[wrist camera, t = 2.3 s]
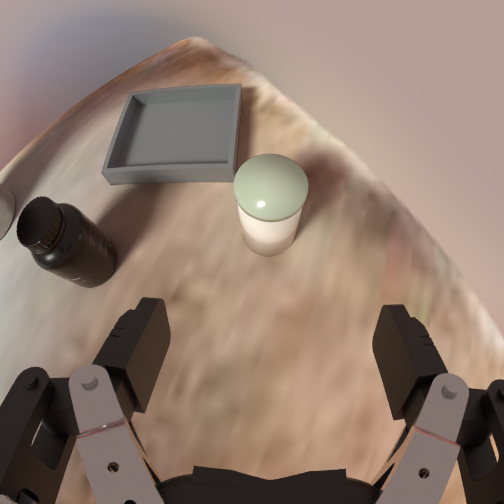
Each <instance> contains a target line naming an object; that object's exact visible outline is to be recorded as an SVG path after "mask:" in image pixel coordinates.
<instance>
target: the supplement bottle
mask: <svg viewBox="0 0 504 504" xmlns="http://www.w3.org/2000/svg"><path fill="white" fill-rule="evenodd" d="M16 232H17V237H18V240H19V241H20V243H21V244H22V245H23V246H24V247H26V248H28V249H29V250H30V251H31V254H32V256H33V259H34V260H35V262H36V263H37V264H38V265H39V266H40V267H41V268H43V269H45V270H47V271H49V272H51V273H53V274H55V275H57V276H60V277H62V278H64V279H66V280H68V281H71V282H73V283H75V284H77V285H80V286H82V287H86V288H92V287H97V286H99V285H101V284H103V283H104V282H105V281H106V280H107V279H108V278H109V277H110V276H111V274H112V273H113V271H114V268H115V265H116V261H117V251H116V247H115V244H114V242H113V241H112V239H111V238H110V237H109V236H108V235H107V234H106V233H105V232H104V231H102V230H101V229H100V228H99V227H98V226H97V225H96V224H94V223H93V222H92V221H91V220H90V219H89V218H88V217H87V216H85V215H84V214H83V213H82V212H81V211H80V210H79V209H77V208H76V207H75V206H73V205H71V204H67V203H60V204H57V203H55V202H53V201H52V200H51V199H49V198H48V197H45V196H44V197H37V198H36V199H33V200H32V201H30V202H29V204H27V205H26V207H25V208H24V209H23V211H22V212H21V215H20V217H19V220H18V222H17V231H16Z"/></svg>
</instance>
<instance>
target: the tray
mask: <svg viewBox="0 0 504 504" xmlns="http://www.w3.org/2000/svg"><path fill="white" fill-rule="evenodd" d="M241 107H242V89H241V84H213V85H196V86H182V87H172V88H162V89H153V90H146V91H138V92H132V93H130V94H129V96H128V99H127V101H126V104H125V106H124V109H123V111H122V114H121V116H120V119H119V122H118V124H117V127H116V130H115V133H114V135H113V138H112V141H111V144H110V147H109V150H108V153H107V156H106V159H105V162H104V165H103V169H102V172H101V173H102V175H103V176H104V177H105V178H106V180H107V181H108V182H109V183H110V184H111V185H121V184H143V183H175V182H234V178H235V175H236V163H237V152H238V140H239V129H240V118H241Z"/></svg>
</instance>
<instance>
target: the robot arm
mask: <svg viewBox="0 0 504 504" xmlns="http://www.w3.org/2000/svg"><path fill="white" fill-rule="evenodd" d="M14 212H15V198H14V195H13V194H12V193H11V192H10V191H9V190H7V189H6V188H5V187H4V186H2V185H1V184H0V239H1V238H2V237H3V236H4V235H5V233H6V232H7V230H8V228H9V226H10V224H11V222H12V219H13V216H14ZM170 337H171V334H170V327H169V322H168V317H167V312H166V307H165V302H164V300H163V299H160V298H147V297H143V298H142V299H141V300H140V302H139V304H138V305H137V307H136V309H135V310H131V309H130V310H128V311H127V312H126V313H124V314H123V315H122V316H121V317H120V318H119V319H118V321H117V322H116V324H115V326H114V329H112V331H111V332H110V334H109V337H107V339H106V341H105V342H104V344H103V346H102V348H101V349H100V351H99V353H98V354H97V356H96V358H95V360H94V361H93V363H92V364H91V365H85V366H82V367H80V368H78V369H77V370H76V371H75V372H73V374H72V375H71V377H70V378H50V377H49V375H48V374H47V372H46V371H45V370H44V369H42V368H40V367H31V368H28V369H26V370H24V371H23V372H21V373H20V374H19V376H18V377H17V379H16V380H15V382H14V384H13V385H12V387H11V389H10V390H9V392H8V394H7V396H6V397H5V399H4V401H3V403H2V404H1V406H0V504H55V502H56V498H57V495H58V492H59V489H60V485H61V482H62V479H63V476H64V473H65V470H66V467H67V464H68V461H69V459H70V456H71V453H72V450H73V447H74V445H75V442H76V441H77V445H78V449H79V452H80V456H81V459H82V462H83V465H84V468H85V471H86V474H87V477H88V480H89V483H90V485H91V488H92V491H93V493H94V496H95V499H96V501H97V504H439V502H440V499H441V497H442V495H443V492H444V490H445V488H446V485H447V483H448V480H449V478H450V475H451V473H452V470H453V468H454V465H455V462H456V459H457V461H458V465H459V469H460V473H461V478H462V482H463V487H464V492H465V497H466V502H467V504H504V380H501V379H499V380H495V381H493V382H492V383H491V384H490V386H489V387H488V388H487V390H482V389H472V388H468V386H467V384H466V383H465V382H464V380H463V379H461V378H460V377H458V376H457V375H454V374H450V373H448V371H447V369H446V367H445V365H444V363H443V361H442V359H441V357H440V355H439V353H438V351H437V349H436V347H435V345H433V344H434V343H433V341H432V339H431V337H429V334H428V332H427V330H426V328H425V326H424V325H423V324H422V323H421V322H420V321H418V320H417V319H416V318H415V317H410V315H409V314H408V312H407V310H406V308H405V306H404V305H402V304H398V305H383V307H382V309H381V312H380V315H379V319H378V322H377V326H376V329H375V332H374V336H373V342H372V347H373V353H374V356H375V359H376V362H377V365H378V369H379V372H380V375H381V378H382V382H383V385H384V388H385V392H386V395H387V399H388V402H389V406H390V409H391V413H392V417H393V420H399V419H405V422H406V425H405V427H404V428H403V430H402V432H401V434H400V436H399V438H398V440H397V442H396V443H395V445H394V447H393V449H392V451H391V453H390V454H389V456H388V458H387V460H386V461H385V463H384V465H383V466H382V468H381V470H380V471H379V472H378V474H377V475H376V476H375V478H374V479H373V481H372V482H371V484H369V483H367V482H364V481H361V480H358V479H353V478H348V477H346V469H338V470H325V471H309V472H305V473H301V474H297V475H293V476H289V477H284V478H280V479H275V480H266V479H262V478H258V477H254V476H251V475H247V474H243V473H240V472H237V471H233V470H227V469H216V468H208V467H199V466H194V469H193V474H187V475H182V476H177V477H174V478H170V479H168V480H165V481H162V479H161V477H160V476H159V474H158V472H157V471H156V469H155V467H154V466H153V464H152V462H151V460H150V458H149V456H148V454H147V452H146V450H145V448H144V446H143V444H142V442H141V440H140V438H139V436H138V433H137V431H136V429H135V427H134V425H133V422H132V420H131V418H132V415H133V413H134V411H135V412H140V413H145V411H146V408H147V405H148V402H149V400H150V397H151V394H152V391H153V388H154V386H155V383H156V380H157V377H158V375H159V372H160V369H161V367H162V364H163V361H164V358H165V356H166V353H167V350H168V348H169V345H170ZM40 423H41V427H40V429H39V431H38V433H37V436H36V438H35V440H34V442H33V445H32V447H31V444H32V440H33V437H34V435H35V433H36V431H37V429H38V426H39V424H40ZM491 435H493V438H494V441H495V444H496V447H497V450H498V453H499V460H498V463H497V460H496V457H495V454H494V450H493V447H492V444H491V441H490V438H489V437H490V436H491Z"/></svg>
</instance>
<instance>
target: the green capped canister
mask: <svg viewBox="0 0 504 504" xmlns="http://www.w3.org/2000/svg"><path fill="white" fill-rule="evenodd" d="M307 193H308V180H307V177H306V174H305V172H304V171H303V169H302V168H301V167H300V166H299V165H298V164H297V163H296V162H295V161H293V160H291V159H290V158H288V157H285V156H282V155H278V154H262V155H258V156H255V157H253V158H251V159H249V160H248V161H246V162H245V163H244V164H242V166H241V167H240V168H239V169H238V171H237V173H236V175H235V178H234V194H235V198H236V201H237V204H238V210H239V216H240V222H241V228H242V234H243V239H244V242H245V244H246V245H247V247H248V248H249V249H250V250H251V251H253V252H254V253H256V254H258V255H261V256H266V257H272V256H277V255H280V254H282V253H283V252H285V251H286V250H287V249H288V248H289V247H290V246H291V244H292V243H293V240H294V237H295V233H296V230H297V226H298V222H299V218H300V215H301V211H302V207H303V205H304V203H305V200H306V197H307Z"/></svg>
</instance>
